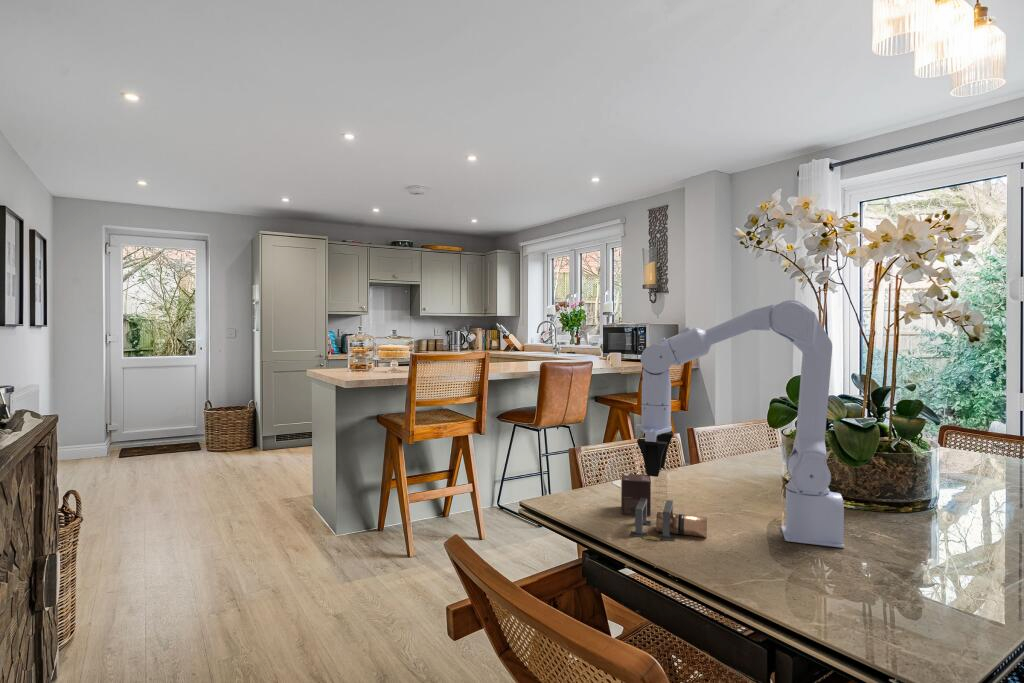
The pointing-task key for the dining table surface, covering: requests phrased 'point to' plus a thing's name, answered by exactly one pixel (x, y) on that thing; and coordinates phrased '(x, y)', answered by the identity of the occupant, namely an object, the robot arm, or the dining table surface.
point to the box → (635, 492)
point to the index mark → (651, 538)
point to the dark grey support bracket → (667, 522)
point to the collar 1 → (640, 518)
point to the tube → (684, 524)
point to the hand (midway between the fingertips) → (655, 471)
